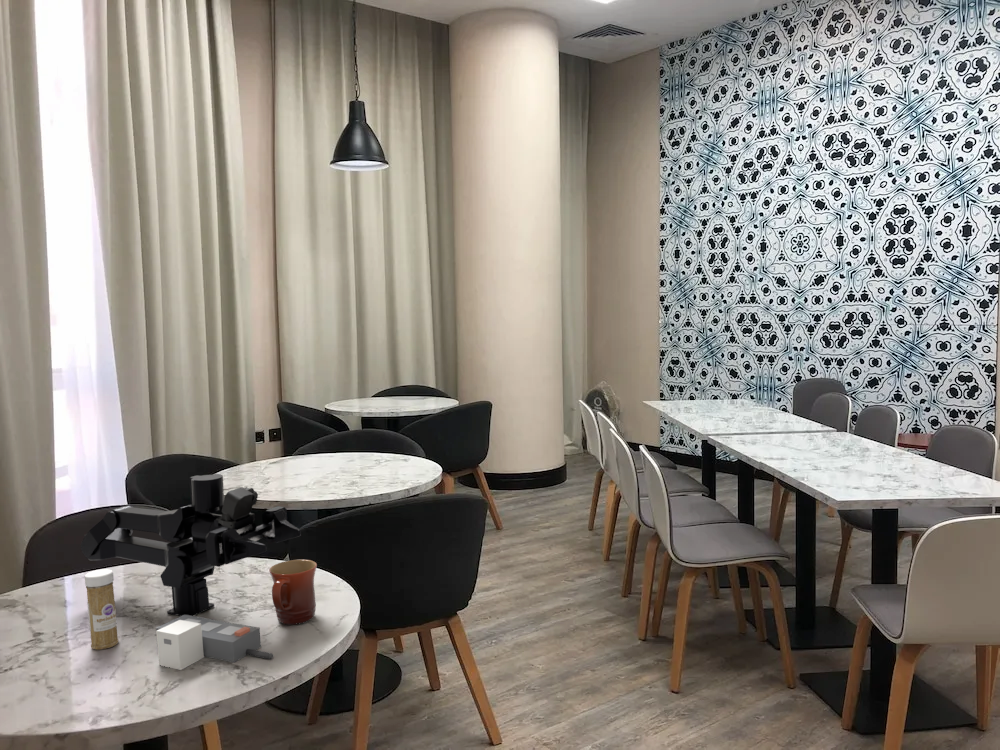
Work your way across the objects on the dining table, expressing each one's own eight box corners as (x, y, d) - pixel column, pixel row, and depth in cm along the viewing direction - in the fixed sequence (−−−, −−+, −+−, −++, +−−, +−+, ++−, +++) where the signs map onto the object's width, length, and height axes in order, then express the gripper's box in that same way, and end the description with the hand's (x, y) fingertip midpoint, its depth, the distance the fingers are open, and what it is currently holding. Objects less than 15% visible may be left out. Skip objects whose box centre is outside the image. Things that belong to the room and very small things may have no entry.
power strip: (157, 646, 141) (155, 624, 141) (186, 632, 147) (184, 611, 147) (259, 667, 131) (257, 643, 131) (285, 651, 137) (284, 628, 137)
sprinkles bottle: (105, 651, 140) (98, 577, 139) (84, 649, 142) (78, 576, 140) (124, 641, 145) (118, 569, 143) (104, 638, 146) (98, 567, 145)
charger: (158, 665, 134) (155, 630, 133) (193, 647, 140) (190, 614, 140) (180, 670, 131) (177, 635, 131) (214, 651, 138) (211, 618, 138)
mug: (286, 609, 157) (282, 558, 156) (327, 611, 155) (324, 559, 154) (255, 634, 145) (251, 579, 144) (300, 636, 143) (296, 581, 142)
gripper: (178, 501, 143) (243, 511, 136) (253, 478, 160) (314, 485, 153) (183, 561, 145) (247, 573, 138) (256, 531, 161) (317, 541, 154)
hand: (283, 540), depth 146 cm, fingers open, 9 cm apart
